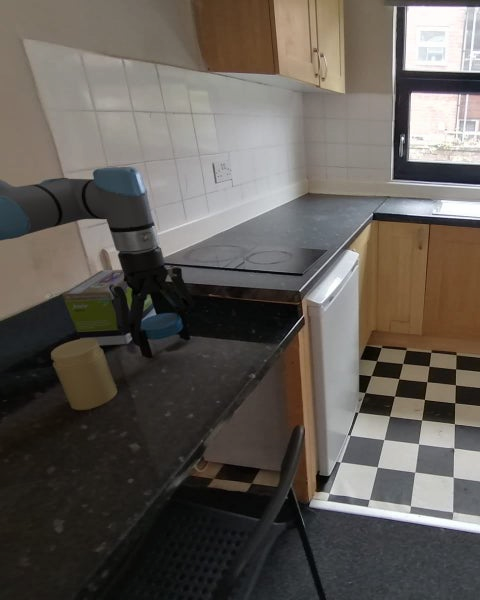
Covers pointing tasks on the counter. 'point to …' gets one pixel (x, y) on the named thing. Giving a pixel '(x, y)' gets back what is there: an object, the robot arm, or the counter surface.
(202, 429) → the counter surface
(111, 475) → the counter surface
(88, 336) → the tea box
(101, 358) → the jam jar
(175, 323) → the jar lid
